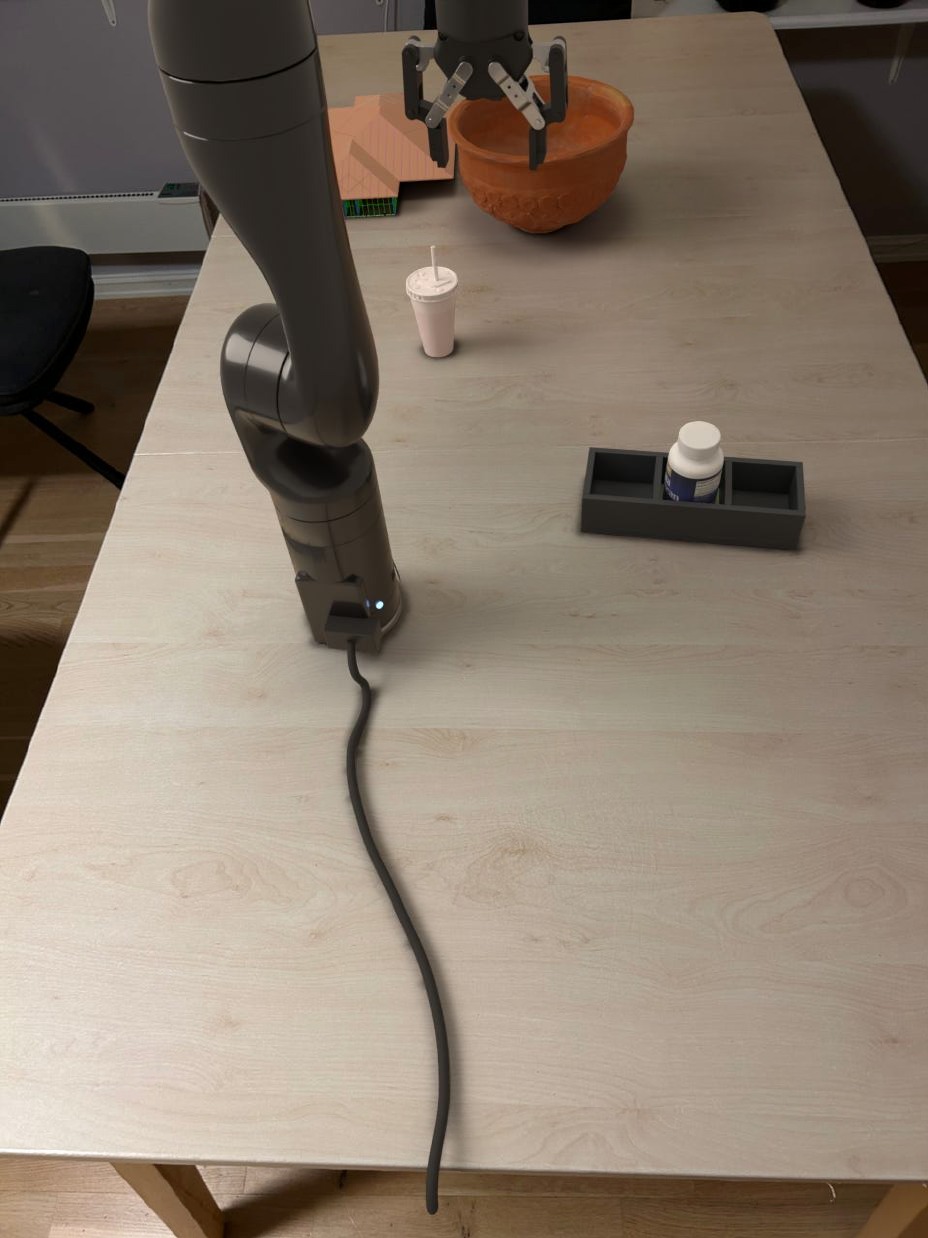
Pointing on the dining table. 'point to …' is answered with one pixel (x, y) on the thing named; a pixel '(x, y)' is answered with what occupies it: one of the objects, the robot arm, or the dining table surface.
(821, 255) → the dining table surface
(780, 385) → the dining table surface
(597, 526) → the rack
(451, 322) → the smoothie
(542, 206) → the bowl
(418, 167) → the house
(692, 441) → the pill bottle
